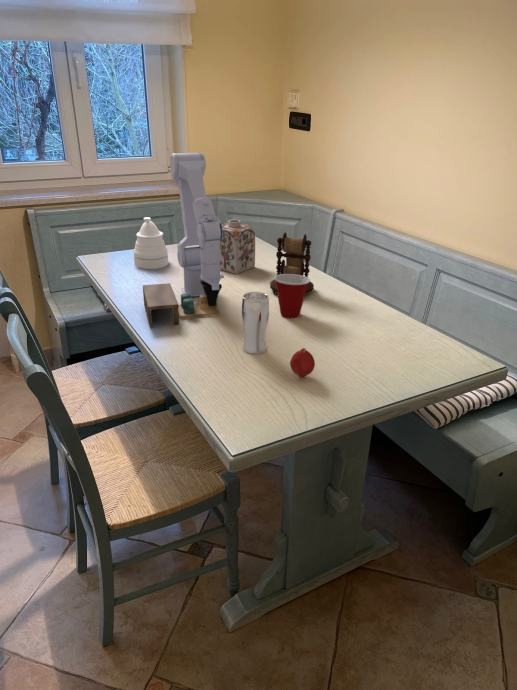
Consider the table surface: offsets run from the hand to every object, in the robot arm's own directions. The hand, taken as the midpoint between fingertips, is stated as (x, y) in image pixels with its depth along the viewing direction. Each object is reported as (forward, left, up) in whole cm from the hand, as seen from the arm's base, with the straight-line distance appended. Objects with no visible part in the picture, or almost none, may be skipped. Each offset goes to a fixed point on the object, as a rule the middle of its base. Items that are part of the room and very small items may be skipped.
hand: (211, 304), depth 162 cm
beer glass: (-6, +29, -2) cm, 30 cm away
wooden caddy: (+16, 0, -2) cm, 16 cm away
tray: (+4, 0, -2) cm, 5 cm away
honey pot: (+13, -51, -2) cm, 53 cm away
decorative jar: (-17, -39, -2) cm, 43 cm away
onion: (-13, +46, -2) cm, 48 cm away
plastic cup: (-23, +9, -2) cm, 25 cm away
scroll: (-30, -10, -2) cm, 31 cm away
